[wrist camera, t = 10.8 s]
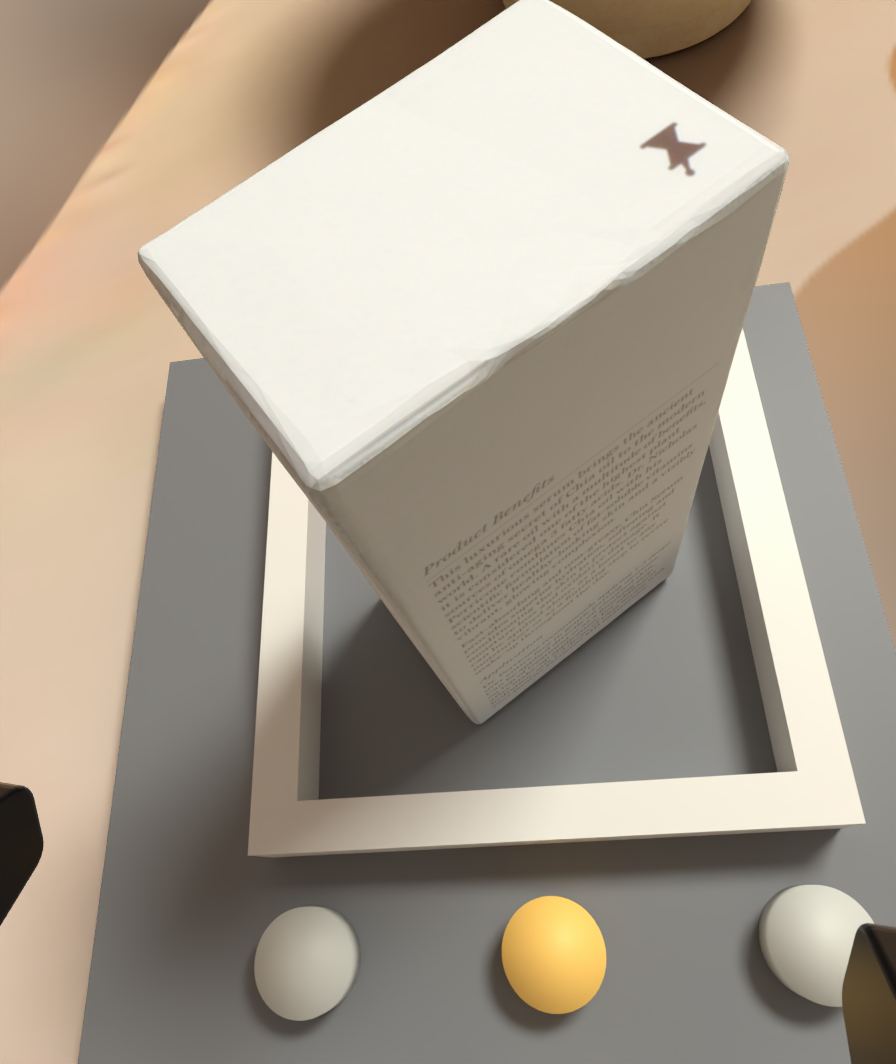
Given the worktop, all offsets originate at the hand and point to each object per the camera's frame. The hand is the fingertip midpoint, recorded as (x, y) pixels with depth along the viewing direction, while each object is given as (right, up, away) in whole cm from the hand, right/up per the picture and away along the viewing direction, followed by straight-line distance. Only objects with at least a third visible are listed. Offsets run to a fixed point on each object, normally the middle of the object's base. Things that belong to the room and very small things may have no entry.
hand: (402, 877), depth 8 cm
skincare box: (+2, +2, +11) cm, 11 cm away
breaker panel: (+2, -2, +10) cm, 10 cm away
